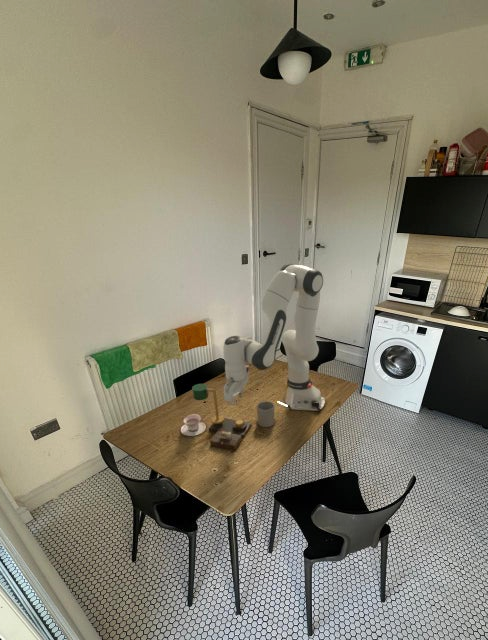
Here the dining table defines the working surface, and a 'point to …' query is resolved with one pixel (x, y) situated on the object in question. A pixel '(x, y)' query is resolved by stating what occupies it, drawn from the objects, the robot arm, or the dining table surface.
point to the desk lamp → (202, 393)
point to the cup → (265, 414)
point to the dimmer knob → (225, 435)
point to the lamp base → (231, 427)
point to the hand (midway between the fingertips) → (237, 400)
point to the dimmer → (226, 441)
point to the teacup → (192, 425)
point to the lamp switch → (239, 423)
